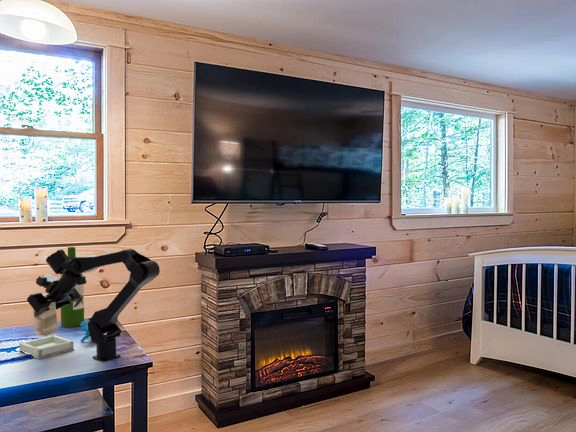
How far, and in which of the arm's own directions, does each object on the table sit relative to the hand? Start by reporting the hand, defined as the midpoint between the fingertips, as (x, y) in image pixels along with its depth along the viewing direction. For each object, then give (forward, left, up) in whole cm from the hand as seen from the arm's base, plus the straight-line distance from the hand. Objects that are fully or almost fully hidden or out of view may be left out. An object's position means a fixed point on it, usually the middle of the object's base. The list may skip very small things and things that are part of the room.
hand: (41, 313), depth 165 cm
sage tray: (-3, 0, -13) cm, 13 cm away
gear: (-5, -16, -13) cm, 21 cm away
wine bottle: (+22, -24, -13) cm, 35 cm away
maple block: (-2, -1, -7) cm, 7 cm away
